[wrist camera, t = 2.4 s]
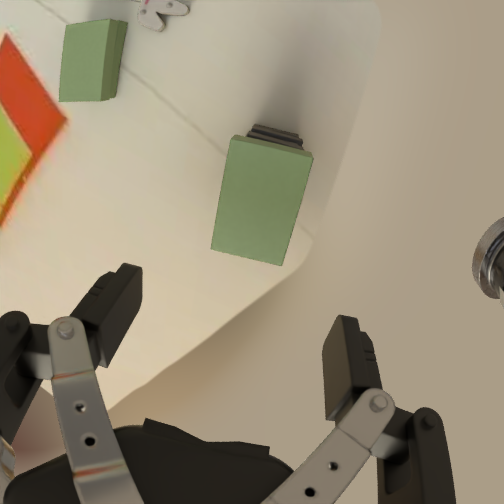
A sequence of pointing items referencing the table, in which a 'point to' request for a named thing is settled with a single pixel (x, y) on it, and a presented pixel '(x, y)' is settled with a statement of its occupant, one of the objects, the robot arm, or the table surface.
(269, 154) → the sage book
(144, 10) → the game controller
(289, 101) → the table surface
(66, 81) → the green stack
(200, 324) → the table surface
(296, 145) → the grey stack
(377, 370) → the robot arm
